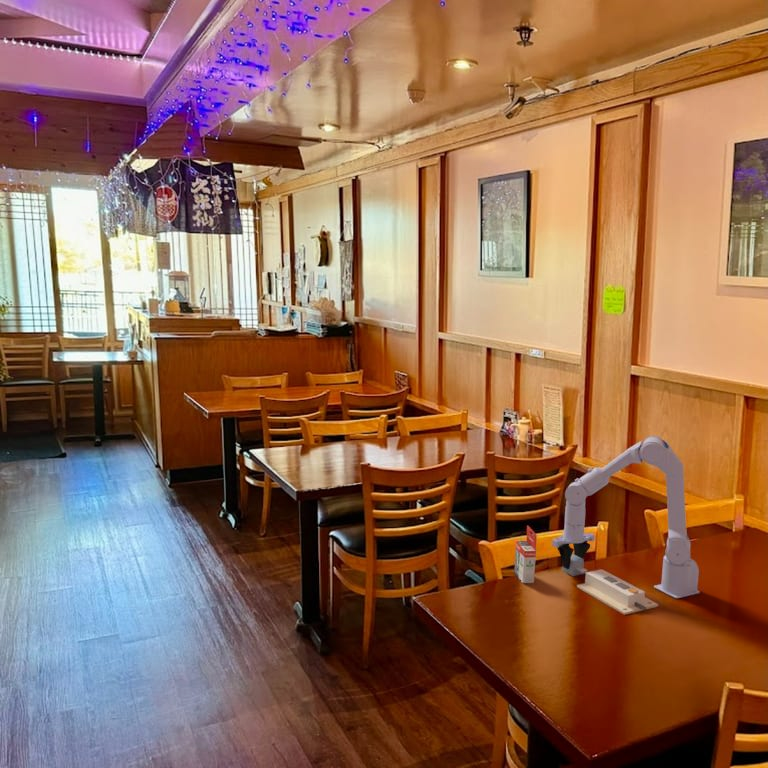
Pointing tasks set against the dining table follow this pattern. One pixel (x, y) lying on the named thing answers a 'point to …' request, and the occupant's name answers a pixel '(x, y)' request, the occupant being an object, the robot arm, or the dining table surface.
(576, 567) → the charger plug
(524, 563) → the ink box
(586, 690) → the dining table surface
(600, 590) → the power strip
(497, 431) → the dining table surface
